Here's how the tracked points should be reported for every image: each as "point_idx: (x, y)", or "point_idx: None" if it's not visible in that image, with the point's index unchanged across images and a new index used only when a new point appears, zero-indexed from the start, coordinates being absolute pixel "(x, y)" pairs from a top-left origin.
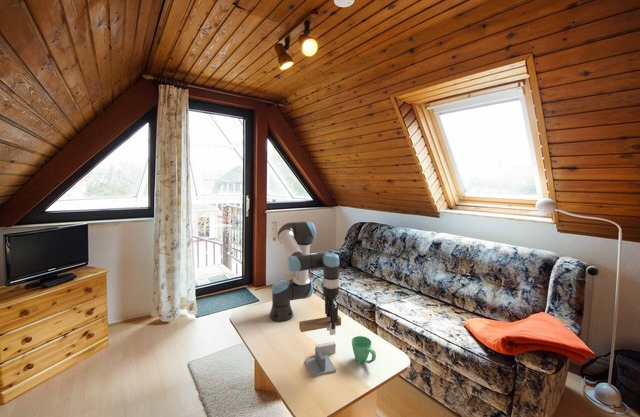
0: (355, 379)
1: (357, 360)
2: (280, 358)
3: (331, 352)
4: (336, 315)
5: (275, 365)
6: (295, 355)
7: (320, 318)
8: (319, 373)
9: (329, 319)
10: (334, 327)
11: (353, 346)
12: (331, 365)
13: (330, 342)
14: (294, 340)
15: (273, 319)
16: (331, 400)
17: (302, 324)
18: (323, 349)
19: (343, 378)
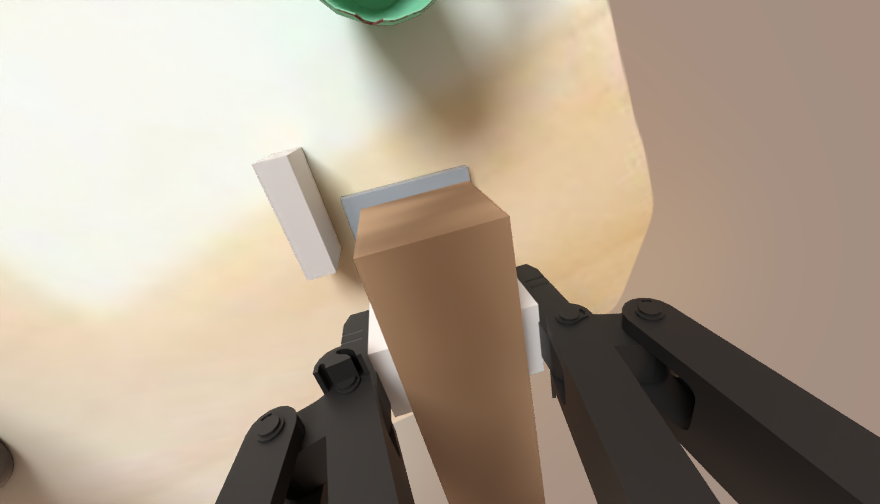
0: (534, 67)
1: (395, 6)
2: None
3: (309, 173)
4: (842, 444)
5: None
6: (335, 339)
7: (455, 490)
8: None
9: (504, 398)
10: (542, 281)
11: (409, 18)
12: (432, 186)
13: (269, 190)
14: (203, 358)
15: (2, 483)
16: (614, 201)
17: None
18: (325, 230)
19: (515, 132)
